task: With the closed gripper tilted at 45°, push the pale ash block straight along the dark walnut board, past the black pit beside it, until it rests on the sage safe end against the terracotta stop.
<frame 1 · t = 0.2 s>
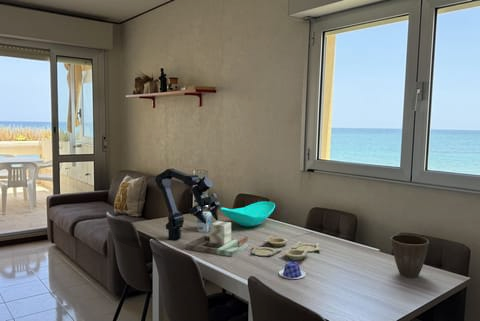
hand: (211, 221, 202), 15 cm above the table, tool tilted 35°, fingers open, 9 cm apart
purple patterned hat: (292, 275, 167), on the table
plant pot: (408, 275, 165), on the table
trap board: (217, 247, 205), on the table
ash block: (220, 241, 208), point 2 cm above the table, touching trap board
table top decor: (248, 225, 251), on the table
light bulb box: (204, 230, 241), on the table
tableware set: (286, 251, 200), on the table
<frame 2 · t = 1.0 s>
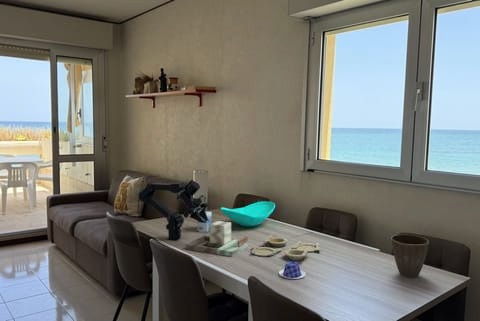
hand: (205, 221, 212), 13 cm above the table, tool tilted 45°, fingers open, 5 cm apart
nothing on the table moved.
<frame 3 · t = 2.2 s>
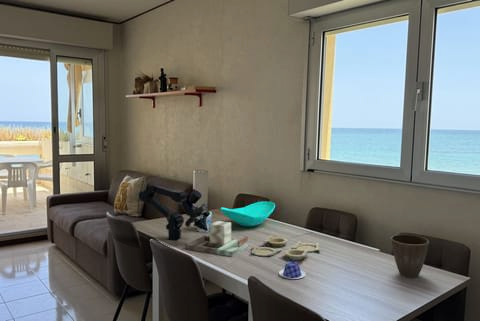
hand: (207, 230, 212), 8 cm above the table, tool tilted 45°, fingers closed
nothing on the table moved.
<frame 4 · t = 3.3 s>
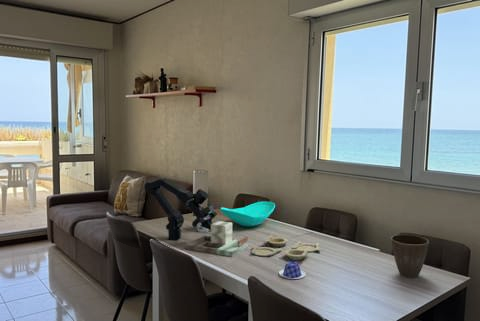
hand: (214, 230, 210), 8 cm above the table, tool tilted 45°, fingers closed, pressing on ash block
ash block: (221, 241, 208), point 3 cm above the table, touching gripper
everything else where it was.
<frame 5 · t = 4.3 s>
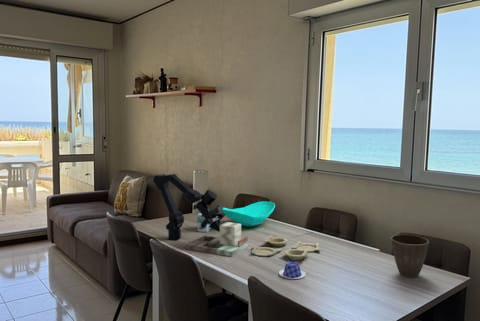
hand: (222, 232, 207), 8 cm above the table, tool tilted 45°, fingers closed, pressing on ash block
ash block: (230, 242, 206), point 3 cm above the table, touching gripper, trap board
everything else where it was.
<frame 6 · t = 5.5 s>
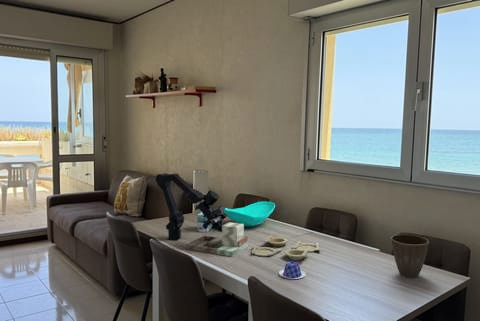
hand: (224, 232, 207), 8 cm above the table, tool tilted 45°, fingers closed
ash block: (233, 242, 205), point 2 cm above the table, touching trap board
everything else where it was.
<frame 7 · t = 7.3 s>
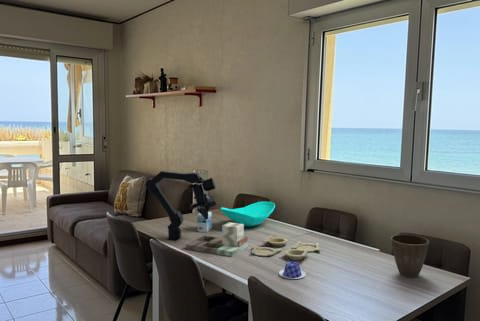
hand: (206, 219, 220), 12 cm above the table, tool tilted 15°, fingers closed
nothing on the table moved.
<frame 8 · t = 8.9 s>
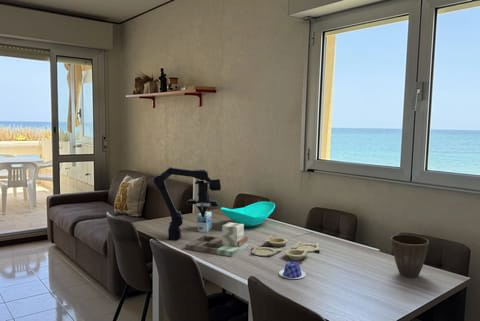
hand: (203, 217, 224), 12 cm above the table, tool pointing down, fingers closed
nothing on the table moved.
at the end: ash block inside the target area (0.6 cm from its centre), point 2.5 cm above the table; ash block tilted 0°; ash block moved 7.7 cm from its start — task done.
